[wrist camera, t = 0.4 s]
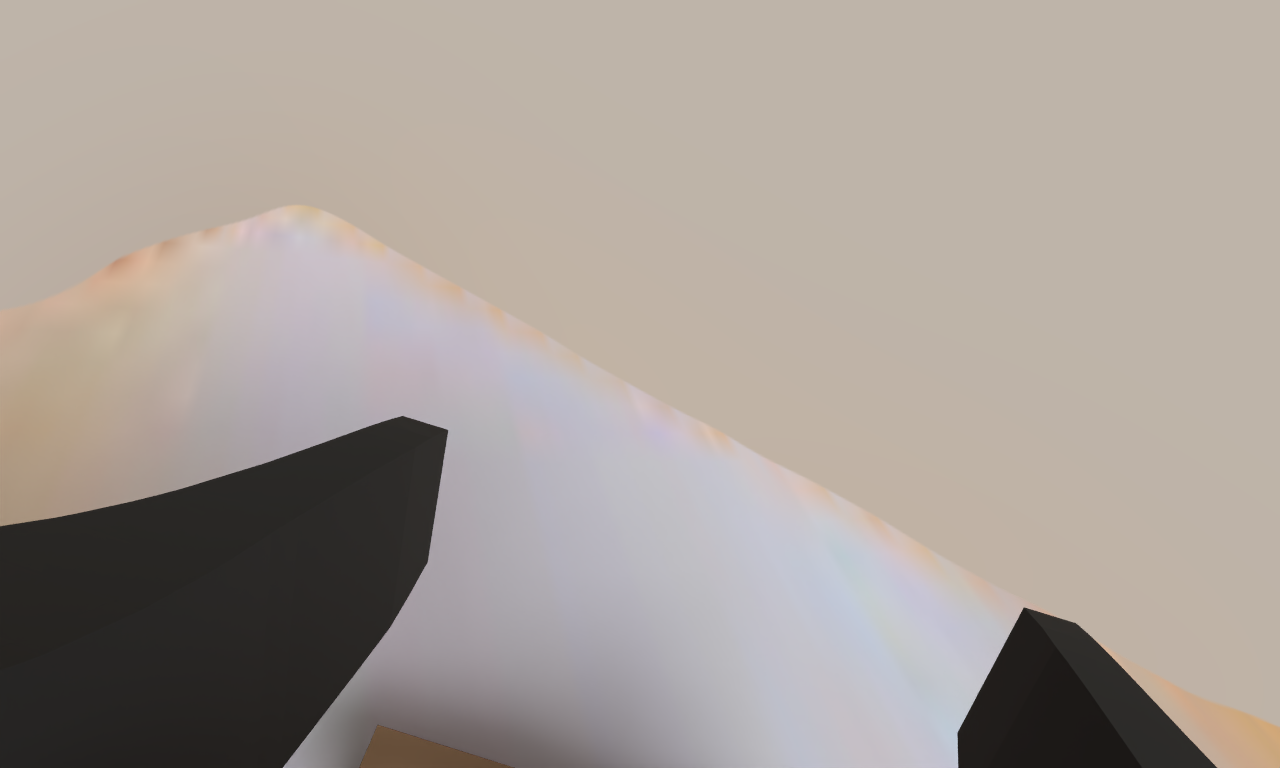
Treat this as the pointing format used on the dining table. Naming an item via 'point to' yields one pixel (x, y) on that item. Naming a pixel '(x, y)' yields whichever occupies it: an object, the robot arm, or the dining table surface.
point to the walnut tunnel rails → (417, 753)
